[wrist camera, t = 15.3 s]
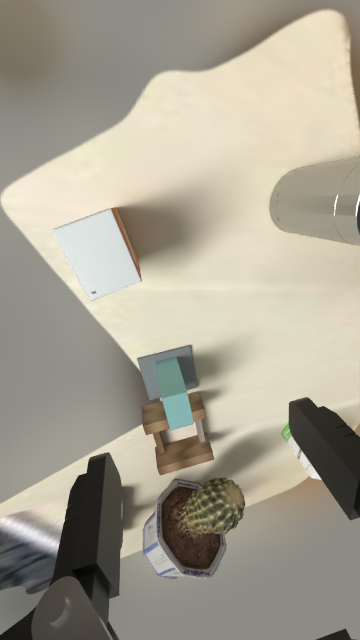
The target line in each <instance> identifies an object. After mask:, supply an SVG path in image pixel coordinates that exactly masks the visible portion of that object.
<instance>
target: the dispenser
mask: <svg viewBox="0 0 360 640" xmlns="http://www.w3.org/2000/svg"><path fill="white" fill-rule="evenodd" d="M188 398H189V403H190V408H191V412H192V417H193V422H195V424H196V429H197V434H198V435H197V436H194V437H190V438H187V439H183V440H179V441H176V442H172V443H169V444H165V445H164V444H163V441H162V438H161V434H160V431H163V430H166V429H170V427H169V424H168V420H167V416H166V413H165V409H164V405H163V402H162V401H161V402H158V403H154V404H151V405H147V406H143V407H142V419H143V428H144V431H145V434H146V435H148V434H152V433H153V436H154V439H155V442H156V445H157V447H155V451H156V461H157V469H158V472H159V474H160V475H163V474H166V473H170V472H173V471H177V470H180V469H183V468H187V467H190V466H194V465H197V464H200V463H204V462H207V461H211V460H214V456H213V451H212V448H211V445H210V442H209V440H208V437H207V434H206V433H204V432H203V427H202V422H201V420H202V419H206V413H205V408H204V405H203V403H202V400H201V397H200V394H199V392H195V393H191V394H188Z"/></svg>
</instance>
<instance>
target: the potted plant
mask: <svg viewBox="0 0 360 640" xmlns="http://www.w3.org/2000/svg"><path fill="white" fill-rule="evenodd" d="M155 506H156V511H155V512H154V513H153V514H152V516H151V517H150V518H149V519H148V520H147V522H146V523H145V525H144V528H143V555H144V557H145V559H146V561H147V562H148V563H149V565H150V566H151V568H152V570H153V571H154V572H155V573H156V575H158V576H160V577H165V578H170V579H171V578H172V579H173V578H177V577H179V576H187V577H195V578H201V579H204V578H207V579H210V578H211V577H213V575H214V574H215V573H216V571H217V569H218V566H219V564H220V561H221V559H222V557H223V555H224V553H225V551H226V541H225V535H224V534H226V533H227V532H228V531H229V530H230V529H233V528H236V526H237V524H238V521H240V520H241V519H242V518H243V510H244V507H245V501H244V495H243V494H242V492H241V489H240V488H239V485H235V483H234V481H233V480H227V479H226V478H220V479H218V478H214V479H213V480H209V481H208V482H205V485H203V486H202V487H201V486H200V485H199V484H197V483H193V482H189V481H188V482H186V481H183V480H173V481H172V482H171V483H170V484H169V486H168V487H167V488H166V489H165V490H164V491H163V492H162V493H161V495H160V497H159V498H158V499H157V501H156V504H155Z"/></svg>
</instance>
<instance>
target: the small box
mask: <svg viewBox="0 0 360 640" xmlns="http://www.w3.org/2000/svg"><path fill="white" fill-rule="evenodd" d="M53 234H54V236H55V238H56V239H57V241H58V243H59V245H60V247H61V249H62V251H63V253H64V255H65V257H66V258H67V260H68V262H69V265H70V267H71V269H72V270H73V272H74V274H75V276H76V277H77V279H78V280H79V282H80V284H81V286H82V287H83V289H84V291H85V293H86V295H87V296H88V298H89V300H90V301H93V300H95V299H98V298H100V297H103V296H105V295H107V294H110V293H112V292H115V291H117V290H120V289H123V288H125V287H128V286H130V285H133V284H135V283H138V282H141V281H142V279H141V274H140V268H139V261H138V257H137V255H136V253H135V251H134V249H133V246H132V244H131V242H130V239H129V237H128V235H127V232H126V230H125V227H124V225H123V222H122V220H121V217H120V215H119V212H118V210H117V208H116V207H115V208H110V209H107V210H104V211H101V212H98V213H95V214H93V215H90V216H87V217H84V218H82V219H79V220H76V221H74V222H71V223H68V224H66V225H63V226H60V227H57V228H55V229H53Z"/></svg>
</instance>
